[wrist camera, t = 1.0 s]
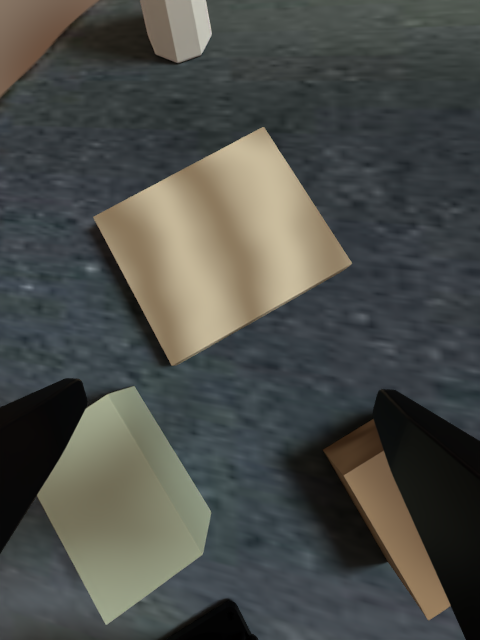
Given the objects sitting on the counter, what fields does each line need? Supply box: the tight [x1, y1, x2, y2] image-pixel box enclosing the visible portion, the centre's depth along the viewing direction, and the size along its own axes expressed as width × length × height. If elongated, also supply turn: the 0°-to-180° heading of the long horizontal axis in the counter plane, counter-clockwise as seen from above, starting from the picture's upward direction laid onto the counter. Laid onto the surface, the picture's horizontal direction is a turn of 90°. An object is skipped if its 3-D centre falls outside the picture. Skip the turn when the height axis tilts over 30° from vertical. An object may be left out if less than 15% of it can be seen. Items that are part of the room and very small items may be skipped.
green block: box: [37, 386, 211, 625], centre depth 16 cm, size 6×10×4 cm, turn 34°
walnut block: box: [323, 419, 451, 621], centre depth 16 cm, size 6×8×4 cm
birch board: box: [93, 127, 352, 366], centre depth 19 cm, size 14×12×2 cm
